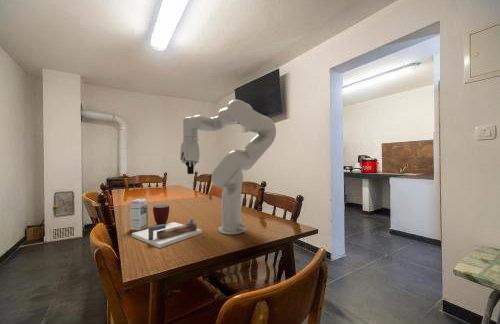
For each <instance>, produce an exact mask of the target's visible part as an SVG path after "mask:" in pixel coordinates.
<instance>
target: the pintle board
mask: <svg viewBox="0 0 500 324" xmlns="http://www.w3.org/2000/svg"><path fill="white" fill-rule="evenodd" d="M165 225H166V228H165V229H160V230H155V231H153V240H148V228H146V229H142V230H137V231H135V232H132V233H131V237H132V238H134V239H137V240H140V241H142V242H144V243H147V244H149V245H151V246H154V247H156V248H158V249H161V248H163V247H167V246H169V245H172V244H175V243H178V242H180V241H184V240H187V239H189V238H191V237H195V236H198V235H200V234H202V233H203V229H201V228H197V229H196V230H194V231H188V232H184V233H180V234H177V235H173V236H169V237H166V238H162V239H159V238H157V231H161V230H166V229H170V228H174V227H178V226H182V225H184V224H181V223H179V222H175V221H174V222H169V223H166V224H165Z"/></svg>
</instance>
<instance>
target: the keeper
mask: <svg viewBox="0 0 500 324" xmlns="http://www.w3.org/2000/svg"><path fill="white" fill-rule="evenodd" d="M165 228H166V225H165V224H161V225H157V224H156V225H150V226H148V227H147V229H148V240H153V231H155V230H160V229H165Z"/></svg>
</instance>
